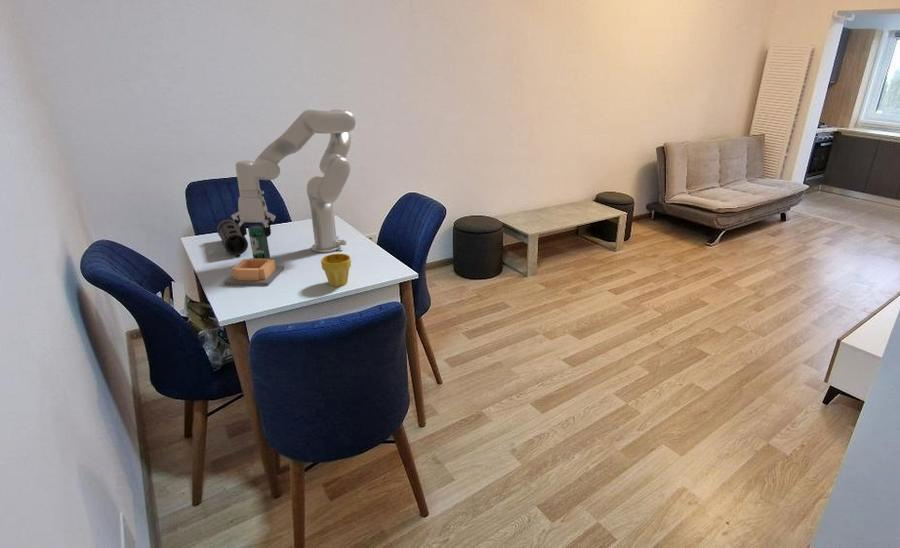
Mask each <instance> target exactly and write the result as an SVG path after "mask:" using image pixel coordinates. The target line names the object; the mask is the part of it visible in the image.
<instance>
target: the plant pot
mask: <svg viewBox="0 0 900 548" xmlns="http://www.w3.org/2000/svg"><path fill="white" fill-rule="evenodd" d="M320 263H321V269H322V270H323V271H324V273H325V275H326V278H327V281H328V284H329V286H331V287H342V286H344V285H347V283H348V281H349V272H350V268H351V267H352V259H351V256H350V255H348V254H346V253H331V254H328V255H325V256H323V257H321V259H320Z"/></svg>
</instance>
